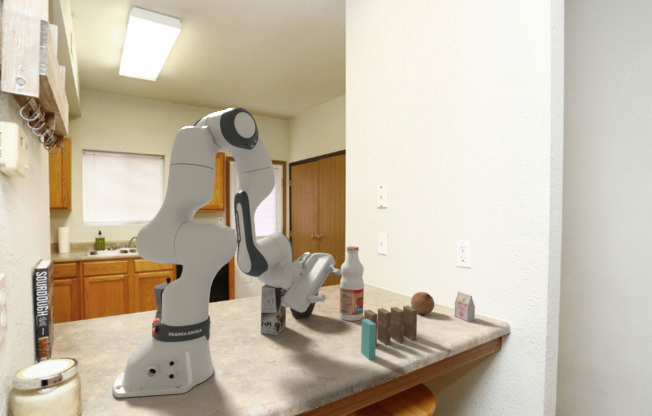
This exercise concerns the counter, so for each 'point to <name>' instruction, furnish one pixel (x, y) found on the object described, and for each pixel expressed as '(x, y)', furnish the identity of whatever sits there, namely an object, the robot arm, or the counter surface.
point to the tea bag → (464, 307)
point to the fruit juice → (351, 286)
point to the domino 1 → (371, 319)
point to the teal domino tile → (368, 339)
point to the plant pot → (304, 314)
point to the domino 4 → (410, 323)
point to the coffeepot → (160, 297)
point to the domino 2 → (384, 326)
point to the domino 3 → (397, 324)
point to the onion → (422, 303)
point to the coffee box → (272, 310)
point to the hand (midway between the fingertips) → (332, 285)
